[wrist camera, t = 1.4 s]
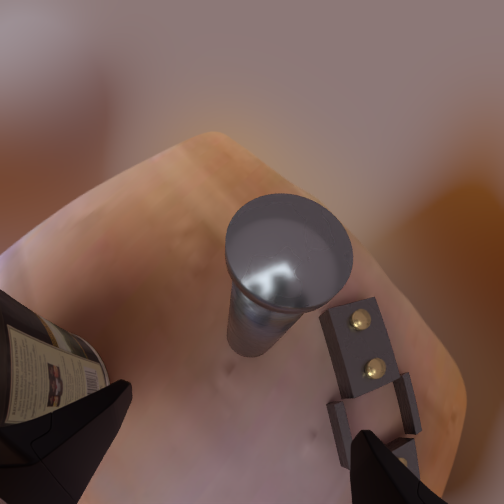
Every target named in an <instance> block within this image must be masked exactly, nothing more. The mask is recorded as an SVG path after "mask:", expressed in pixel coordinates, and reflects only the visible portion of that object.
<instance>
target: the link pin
mask: <svg viewBox="0 0 504 504" xmlns="http://www.w3.org/2000/svg"><path fill="white" fill-rule="evenodd" d="M225 260H226V265H227V269H228V272H229V274H230V277H231V279H232V289H231V299H230V308H229V318H228V328H227V339H228V342H229V345H230V346H231V348H232V349H233V350H234V351H235V352H236V353H238V354H239V355H242V356H244V357H257V356H260V355H262V354H264V353H265V352H266V351H267V350H268V349H269V348H270V347H272V346H273V345H274V344H275V343H276V342H277V341H278V340H279V339H280V338H281V337H282V336H283V335H284V334H285V333H286V332H287V330H288V329H289V328H290V327H291V326H292V325H293V324H294V323H295V322H296V321H297V320H298V319H299V318H300V317H301V316H302V315H303V314H304V313H307V312H310V311H313V310H316V309H318V308H320V307H322V306H323V305H325V304H326V303H327V302H329V301H330V300H331V299H332V298H333V297H334V296H335V295H336V294H337V293H338V292H339V291H340V290H341V289H342V288H343V286H344V285H345V284H346V282H347V280H348V278H349V276H350V273H351V270H352V265H353V251H352V246H351V242H350V239H349V236H348V234H347V232H346V230H345V229H344V227H343V226H342V224H341V223H340V222H339V220H338V219H337V218H336V217H335V216H334V215H333V214H332V213H331V212H330V211H328V210H327V209H326V208H324V207H323V206H321V205H320V204H318V203H316V202H314V201H312V200H310V199H307V198H305V197H301V196H298V195H292V194H270V195H265V196H261V197H258V198H256V199H254V200H252V201H250V202H248V203H247V204H245V205H244V206H242V207H241V208H240V209H239V210H238V211H237V212H236V214H235V215H234V216H233V218H232V220H231V222H230V223H229V226H228V229H227V233H226V243H225Z"/></svg>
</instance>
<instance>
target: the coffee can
mask: <svg viewBox="0 0 504 504" xmlns="http://www.w3.org/2000/svg"><path fill="white" fill-rule="evenodd" d="M108 385H110V382H109V378H108V374H107V371H106V368H105V365H104V363H103V361H102V360H101V358H100V356H99V355H98V353H97V352H96V350H95V349H94V348H93V347H92V346H91V345H90V344H89V343H88V342H87V341H85V340H84V339H82V338H81V337H79V336H77V335H75V334H72V333H70V332H68V331H66V330H64V329H62V328H60V327H58V326H57V325H55V324H53V323H51V322H50V321H48V320H46V319H44V318H43V317H41V316H39V315H38V314H36V313H34V312H33V311H31V310H30V309H28V308H27V307H25V306H24V305H22V304H21V303H19V302H18V301H16V300H15V299H13V298H12V297H10V296H9V295H8V294H6V293H5V292H4V291H2V290H0V427H5V426H9V425H13V424H17V423H21V422H25V421H28V420H32V419H35V418H37V417H40V416H42V415H45V414H47V413H50V412H52V411H54V410H57V409H59V408H61V407H63V406H66V405H68V404H70V403H72V402H74V401H76V400H79V399H81V398H83V397H85V396H87V395H89V394H91V393H93V392H96V391H98V390H100V389H102V388H104V387H106V386H108Z"/></svg>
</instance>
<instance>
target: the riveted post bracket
mask: <svg viewBox="0 0 504 504" xmlns="http://www.w3.org/2000/svg"><path fill="white" fill-rule="evenodd" d="M319 319H320V322H321V326H322V329H323V332H324V336H325V339H326V343H327V346H328V350H329V353H330V357H331V360H332V364H333V367H334V371H335V375H336V378H337V382H338V386H339V390H340V394H341V397H342V399H349V398H356V397H358V396H361V395H363V394H365V393H368V392H370V391H372V390H375V389H377V388H379V387H381V386H384V385H386V384H388V383H390V382H392V381H393V383H394V387H395V391H396V395H397V399H398V403H399V407H400V412H401V416H402V421H403V426H404V431H405V434H414V435H416V434H418V433H419V432H421V431H422V428H421V423H420V418H419V413H418V408H417V404H416V399H415V395H414V391H413V387H412V383H411V379H410V375H409V372H407V373H403V374H399V370H398V367H397V363H396V360H395V356H394V353H393V350H392V346H391V343H390V340H389V337H388V334H387V331H386V328H385V325H384V322H383V319H382V316H381V313H380V310H379V307H378V304H377V302H376V299H375V297H372V298H368V299H365V300H361V301H357V302H353V303H350V304H346V305H342V306H338V307H334V308H330V309H328V310H326V311H325V312H324V313H323V314H322V315H321V316H320V317H319ZM326 406H327V410H328V414H329V418H330V422H331V426H332V430H333V434H334V438H335V442H336V446H337V451H338V455H339V459H340V464H341V466H342V467H344V468H346V469H349V470H350V451H351V442H352V437H351V432H350V428H349V424H348V420H347V416H346V412H345V408H344V404H343V401H338V402H332V403H329V404H326ZM386 446H387V448H388V449H389V450H390V451H391V452H392V453H393V454H394V455H395V456H396V457H397V458H398V459H399V460H400V461H401V462H402V463H403V464H404V465H405V466H406V467H407V468H408V469H409V470H410V471H411V472H412V473H413V474H414V475H415V476H416V477H417V478H418V479H419V480H420V474H419V466H418V459H417V453H416V447H415V441H414V438H402V437H399V438H397V439H396V440H394V441H392V442H390V443H388V444H387V445H386Z"/></svg>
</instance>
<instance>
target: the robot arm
mask: <svg viewBox="0 0 504 504" xmlns="http://www.w3.org/2000/svg"><path fill="white" fill-rule="evenodd" d="M131 401H132V385H131V383H130V382H128V381H125V380H123V379H120V380H118V381H116V382H114V383H112V384H110V385H108V386H106V387H104V388H102V389H100V390H98V391H96V392H93V393H91V394H89V395H87V396H85V397H83V398H81V399H79V400H76V401H74V402H72V403H70V404H68V405H66V406H63V407H61V408H59V409H57V410H54V411H52V412H50V413H47V414H45V415H42V416H40V417H37V418H35V419H32V420H28V421H25V422H21V423H17V424H13V425H9V426H5V427H0V504H77V503H78V501H79V499H80V498H81V496H82V494H83V492H84V490H85V489H86V487H87V485H88V483H89V482H90V480H91V478H92V476H93V475H94V473H95V471H96V469H97V468H98V466H99V464H100V462H101V461H102V459H103V457H104V455H105V454H106V452H107V450H108V449H109V447H110V445H111V443H112V442H113V440H114V438H115V437H116V435H117V433H118V431H119V429H120V427H121V424H122V422H123V420H124V417H125V415H126V413H127V410H128V408H129V406H130V403H131ZM350 481H351V493H352V504H448V503H446V502H445V501H444V500H442V499H441V498H440V497H438V496H437V495H436V494H435V493H433V492H432V491H431V490H430V489H429V488H428V487H427V486H425V485H424V484H423V483H422V482H421V481H420V480H419V479H418V478H417V477H416V476H415V475H414V474H413V473H412V472H411V471H410V470H409V469H408V468H407V467H406V466H405V465H404V464H403V463H402V462H401V461H400V460H399V459H398V458H397V457H396V456H395V455H394V454H393V453H392V452H391V451H390V450H389V449H388V448H387V446H386V445H385V444H384V443H383V442H382V441H381V440H380V439H379V438H378V437H377V436H376V435H375V434H374V433H373V432H372V431H371V430H361V431H360V432H359V433H358V434H357V435H356V437H355V438H354V439H353V441H352V442H351V451H350Z"/></svg>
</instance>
